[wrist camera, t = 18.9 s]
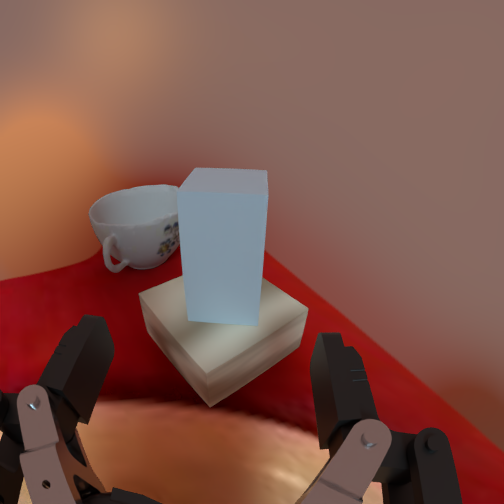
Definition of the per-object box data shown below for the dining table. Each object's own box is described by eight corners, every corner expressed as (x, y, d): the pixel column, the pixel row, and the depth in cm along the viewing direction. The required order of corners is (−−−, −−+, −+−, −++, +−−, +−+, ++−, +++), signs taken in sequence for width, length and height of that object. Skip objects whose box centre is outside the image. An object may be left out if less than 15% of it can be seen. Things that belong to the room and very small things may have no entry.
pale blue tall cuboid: (188, 320, 22) (176, 191, 17) (199, 279, 26) (195, 167, 21) (257, 325, 22) (268, 195, 17) (259, 283, 26) (266, 170, 21)
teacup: (128, 231, 43) (121, 181, 39) (205, 239, 42) (204, 185, 38) (72, 289, 30) (54, 228, 26) (165, 310, 29) (155, 240, 25)
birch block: (148, 334, 26) (138, 293, 24) (229, 295, 32) (230, 255, 30) (210, 409, 20) (206, 373, 18) (298, 348, 26) (308, 308, 24)
